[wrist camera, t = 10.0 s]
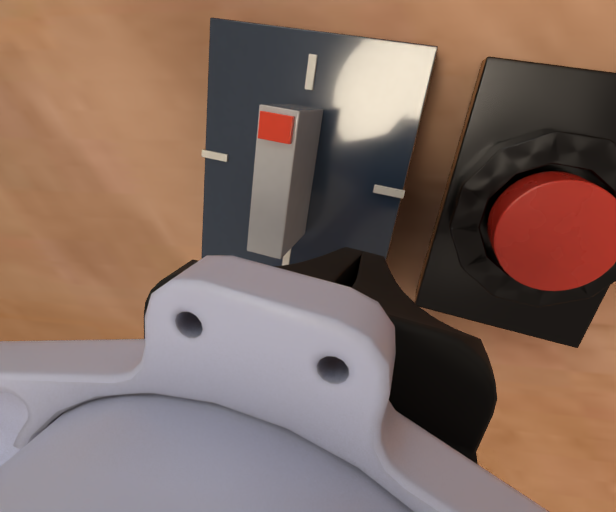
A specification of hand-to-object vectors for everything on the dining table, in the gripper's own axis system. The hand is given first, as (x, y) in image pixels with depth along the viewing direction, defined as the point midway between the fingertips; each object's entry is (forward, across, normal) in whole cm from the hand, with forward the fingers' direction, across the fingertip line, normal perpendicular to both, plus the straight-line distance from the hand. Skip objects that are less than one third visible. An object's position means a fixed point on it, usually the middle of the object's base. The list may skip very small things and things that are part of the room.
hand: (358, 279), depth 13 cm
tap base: (+10, +4, -2) cm, 11 cm away
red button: (+7, -7, -2) cm, 9 cm away
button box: (+10, -7, -2) cm, 12 cm away
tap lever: (+7, +4, -1) cm, 8 cm away
